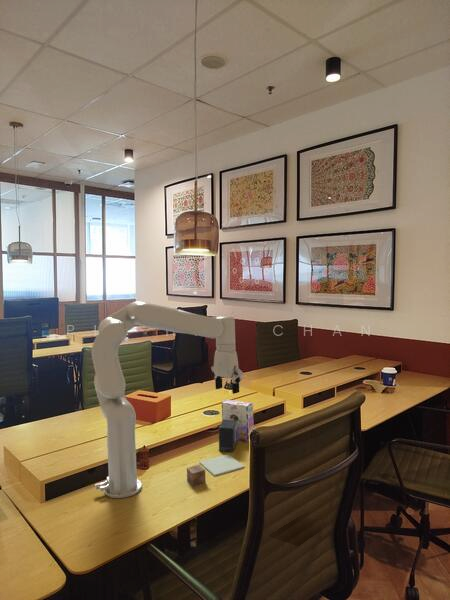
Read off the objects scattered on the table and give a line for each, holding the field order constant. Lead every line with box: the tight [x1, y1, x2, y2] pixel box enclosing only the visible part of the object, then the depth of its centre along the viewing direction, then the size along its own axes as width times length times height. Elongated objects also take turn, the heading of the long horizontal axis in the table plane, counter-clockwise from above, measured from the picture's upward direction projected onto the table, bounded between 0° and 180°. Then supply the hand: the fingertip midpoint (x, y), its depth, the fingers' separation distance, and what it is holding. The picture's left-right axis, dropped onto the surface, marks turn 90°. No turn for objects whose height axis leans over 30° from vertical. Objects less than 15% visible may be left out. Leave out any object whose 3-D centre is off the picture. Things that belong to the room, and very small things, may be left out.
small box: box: [218, 419, 238, 453], centre depth 176 cm, size 11×6×10 cm, turn 168°
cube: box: [186, 464, 207, 488], centre depth 146 cm, size 5×5×5 cm
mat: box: [199, 453, 245, 477], centre depth 159 cm, size 13×13×1 cm
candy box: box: [221, 399, 255, 443], centre depth 187 cm, size 14×6×16 cm, turn 58°
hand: (227, 390), depth 160 cm, fingers open, 9 cm apart
